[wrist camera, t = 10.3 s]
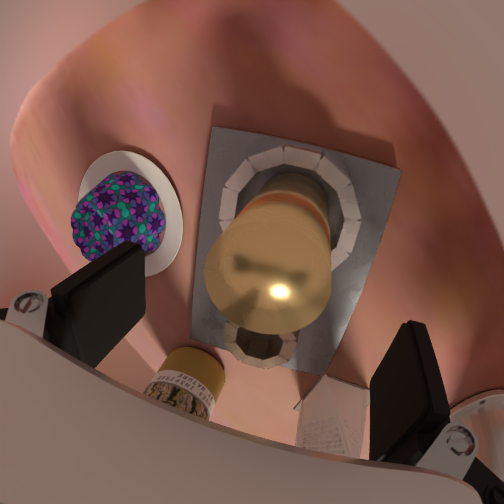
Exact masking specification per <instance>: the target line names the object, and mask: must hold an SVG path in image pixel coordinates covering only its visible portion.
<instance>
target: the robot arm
mask: <svg viewBox="0 0 504 504" xmlns="http://www.w3.org/2000/svg"><path fill="white" fill-rule="evenodd" d="M51 294H52V297H50V298H49V299H48V297H47V295H46V294H45V293H44V292H42V291H39V290H27V291H24V292H21V293H19V294H18V295H16V296H15V297H14V298H13V299H12V301H11V303H10V306H9V308H5V309H4V308H3V309H0V504H504V390H500V389H498V390H490V391H487V392H483V393H480V394H478V395H475V396H473V397H471V398H469V399H466V400H465V401H463V402H461V403H459V404H458V405H456V406H455V407H453V408H452V409H449V404H448V400H447V396H446V392H445V388H444V384H443V381H442V377H441V373H440V370H439V366H438V363H437V359H436V356H435V353H434V350H433V346H432V343H431V340H430V337H429V334H428V331H427V328H426V325H425V324H424V323H420V322H416V321H412V320H409V321H408V322H407V323H403V324H402V325H401V327H400V329H399V330H398V332H397V334H396V336H395V338H394V340H393V342H392V344H391V345H390V347H389V349H388V351H387V353H386V354H385V356H384V358H383V360H382V361H381V363H380V365H379V366H378V368H377V370H376V371H375V373H374V375H373V376H372V378H371V381H370V453H369V460H365V459H358V458H352V457H346V456H341V455H335V454H329V453H324V452H319V451H314V450H309V449H305V448H300V447H296V446H292V445H288V444H284V443H280V442H276V441H272V440H268V439H265V438H261V437H258V436H254V435H251V434H248V433H244V432H241V431H238V430H235V429H232V428H229V427H226V426H223V425H220V424H217V423H214V422H211V421H209V420H206V419H203V418H200V417H198V416H195V415H192V414H190V413H187V412H185V411H182V410H180V409H177V408H175V407H173V406H170V405H168V404H165V403H163V402H161V401H159V400H156V399H154V398H152V397H150V396H147V395H145V394H143V393H141V392H139V391H136V390H135V389H132V388H131V387H128V386H126V385H124V384H122V383H120V382H118V381H116V380H115V379H112V378H111V377H109V376H107V375H105V374H103V373H101V372H99V371H98V370H96V369H94V368H95V367H96V366H97V365H98V364H99V363H100V362H101V361H102V359H104V357H105V356H106V355H107V354H108V353H109V352H110V351H111V350H112V349H113V348H114V347H115V346H116V345H117V344H118V343H119V342H120V340H121V339H122V338H123V337H124V336H125V335H126V334H127V333H128V332H129V331H130V330H131V329H132V328H133V327H134V326H135V325H136V324H137V323H138V322H139V320H140V319H141V318H142V317H143V316H144V314H145V310H146V304H145V251H144V249H142V246H141V245H140V244H138V243H135V242H132V241H129V240H126V241H124V242H122V243H120V244H119V245H117V246H116V247H114V248H112V249H111V250H109V251H108V252H106V253H104V254H103V255H101V256H100V257H98V258H97V259H95V260H93V261H92V262H90V263H89V264H87V265H86V266H84V267H83V268H81V269H80V270H78V271H77V272H75V273H74V274H72V275H71V276H69V277H68V278H66V279H65V280H63V281H62V282H60V283H59V284H58V285H56V286H55V287H53V288H52V289H51Z"/></svg>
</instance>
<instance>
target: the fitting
mask: <svg viewBox="0 0 504 504" xmlns="http://www.w3.org/2000/svg"><path fill="white" fill-rule="evenodd" d="M204 279H205V284H206V288H207V291H208V294H209V296H210V298H211V299H212V301H213V303H214V304H215V306H216V307H217V308H218V309H219V310H220V312H221V313H222V314H223V315H225V316H226V317H227V318H228V319H229V320H231V321H232V322H234V323H235V324H237V325H239V326H241V327H243V328H245V329H247V330H250V331H253V332H257V333H262V334H275V335H276V334H285V333H291V332H294V331H297V330H299V329H302V328H304V327H306V326H307V325H309V324H310V323H312V322H313V321H314V320H315V319H316V318H317V317H318V316H319V315H320V314H321V313H322V311H323V310H324V308H325V307H326V305H327V303H328V300H329V297H330V294H331V287H332V279H331V242H330V220H329V205H328V200H327V197H326V195H325V193H324V191H323V189H322V188H321V187H320V186H319V185H318V184H317V183H316V182H315V181H314V180H312V179H311V178H309V177H307V176H304V175H302V174H297V173H285V174H281V175H278V176H276V177H274V178H272V179H270V180H269V181H268V182H267V183H266V184H265V185H264V186H263V187H262V188H261V189H260V190H259V191H258V193H257V194H256V195H255V196H254V197H253V198H252V199H251V201H250V202H249V203H248V204H247V205H246V206H245V207H244V209H243V210H242V211H241V212H240V213H239V214H238V215H237V217H236V218H235V219H234V220H233V221H232V222H231V224H230V225H229V226H228V227H227V228H226V229H225V231H224V232H223V233H222V234H221V235H220V236H219V238H218V239H217V240H216V241H215V243H214V244H213V245H212V247H211V248H210V250H209V252H208V255H207V257H206V261H205V265H204Z"/></svg>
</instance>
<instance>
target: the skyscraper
mask: <svg viewBox="0 0 504 504" xmlns="http://www.w3.org/2000/svg"><path fill="white" fill-rule="evenodd" d="M369 404H370V389H367V388H364V387H361V386H358V385H355V384H352V383H349V382H346V381H344V380H341V379H338V378H335V377H332V376H329V375H327V374H324V376H321V377H320V378H319V379H318V381H317V382H316V383H315V384H314V386H313V387H312V388H311V389H310V390H309V392H308V393H307V394H306V395H305V396H304V398H303V399H302V400H301V401H300V402H299V403H298V405H297V406H296V407H295V408H294V410H296V411H299V417H298V425H297V433H296V443H295V446H296V447H300V448H305V449H309V450H314V451H319V452H324V453H329V454H335V455H341V456H346V457H352V458H358V459H360V454H361V449H362V442H363V436H364V428H365V420H366V410H367V406H368V405H369Z"/></svg>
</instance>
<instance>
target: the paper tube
mask: <svg viewBox="0 0 504 504" xmlns="http://www.w3.org/2000/svg"><path fill="white" fill-rule="evenodd" d="M224 383H225V373H224V370H223V368H222V366H221V365H220V363H219V362H218V361H217V360H216V359H215V358H214V357H213V356H211V355H210V354H208V353H207V352H205V351H203V350H200V349H197V348H193V347H180V348H177V349H175V350H173V351H172V352H171V353H170V354H169V355H168V357H167V358H166V360H165V361H164V363H163V364H162V366H161V367H160V369H159V370H158V372H157V373H156V374H155V376H154V377H153V379H152V380H151V382H150V384H149V385H148V386H147V388H146V389H145V391H144V392H143V394H145V395H147V396H150V397H152V398H154V399H156V400H159V401H161V402H163V403H165V404H168V405H170V406H173V407H175V408H177V409H180V410H182V411H185V412H187V413H190V414H192V415H195V416H198V417H200V418H203V419H206V420H209V418H210V415H211V413H212V411H213V409H214V406H215V404H216V401H217V399H218V397H219V394H220V392H221V390H222V388H223V385H224Z"/></svg>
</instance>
